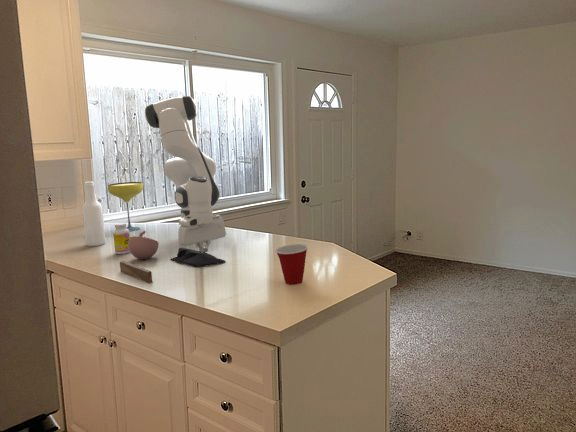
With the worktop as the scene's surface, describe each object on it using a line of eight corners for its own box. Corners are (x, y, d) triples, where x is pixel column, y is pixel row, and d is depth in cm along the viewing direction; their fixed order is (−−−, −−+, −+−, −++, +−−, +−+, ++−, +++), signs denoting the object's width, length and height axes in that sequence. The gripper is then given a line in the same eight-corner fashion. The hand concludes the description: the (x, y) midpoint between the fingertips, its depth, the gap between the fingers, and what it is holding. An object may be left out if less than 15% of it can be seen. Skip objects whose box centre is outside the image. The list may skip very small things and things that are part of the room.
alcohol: (90, 247, 229) (82, 183, 224) (83, 244, 235) (76, 182, 230) (109, 244, 234) (102, 181, 229) (102, 241, 241) (95, 180, 236)
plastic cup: (275, 278, 168) (274, 244, 166) (307, 276, 169) (305, 242, 167) (277, 288, 158) (276, 252, 156) (311, 286, 159) (310, 250, 157)
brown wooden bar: (124, 271, 186) (123, 260, 186) (152, 282, 170) (151, 271, 170) (120, 272, 185) (119, 261, 185) (148, 283, 169) (147, 272, 169)
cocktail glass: (106, 230, 269) (101, 184, 264) (137, 225, 281) (133, 181, 276) (121, 234, 256) (116, 186, 251) (153, 228, 268) (148, 182, 263)
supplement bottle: (126, 254, 212) (123, 225, 210) (112, 254, 213) (109, 225, 211) (134, 250, 219) (131, 222, 216) (120, 250, 220) (117, 222, 218)
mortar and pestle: (165, 255, 207) (163, 228, 205) (148, 263, 196) (145, 235, 194) (141, 254, 211) (138, 228, 209) (123, 261, 200) (120, 234, 198)
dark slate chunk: (193, 271, 182) (192, 259, 182) (168, 261, 199) (167, 249, 199) (229, 263, 192) (228, 251, 191) (201, 253, 209) (200, 242, 208)
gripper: (218, 213, 204) (220, 246, 206) (174, 221, 190) (177, 256, 192) (227, 214, 199) (229, 248, 202) (183, 223, 185) (186, 258, 188)
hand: (204, 252), depth 197 cm, fingers closed
